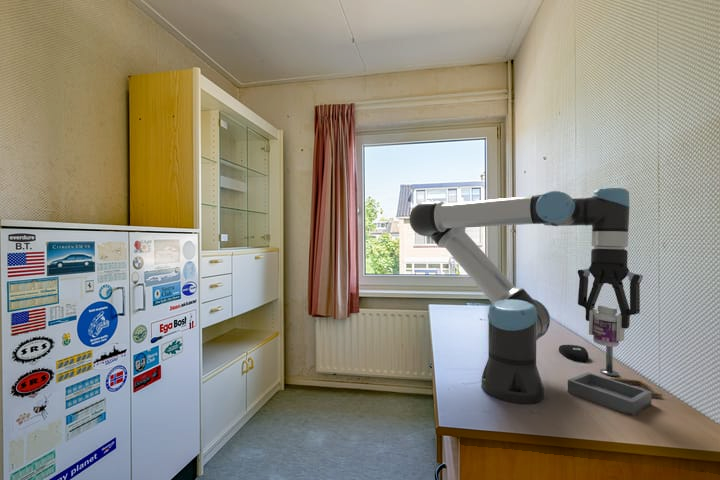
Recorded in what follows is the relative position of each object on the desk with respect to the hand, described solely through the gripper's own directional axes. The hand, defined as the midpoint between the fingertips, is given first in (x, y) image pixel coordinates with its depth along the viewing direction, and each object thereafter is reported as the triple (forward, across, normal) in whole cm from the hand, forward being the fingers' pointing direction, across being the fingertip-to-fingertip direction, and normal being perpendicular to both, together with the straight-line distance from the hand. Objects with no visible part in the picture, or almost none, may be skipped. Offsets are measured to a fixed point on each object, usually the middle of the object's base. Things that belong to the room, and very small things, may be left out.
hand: (606, 336), depth 84 cm
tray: (+15, -1, +1) cm, 15 cm away
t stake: (+15, +5, -19) cm, 25 cm away
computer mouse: (+16, +18, -26) cm, 36 cm away
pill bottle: (+2, 0, 0) cm, 2 cm away
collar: (+15, -2, -11) cm, 19 cm away
